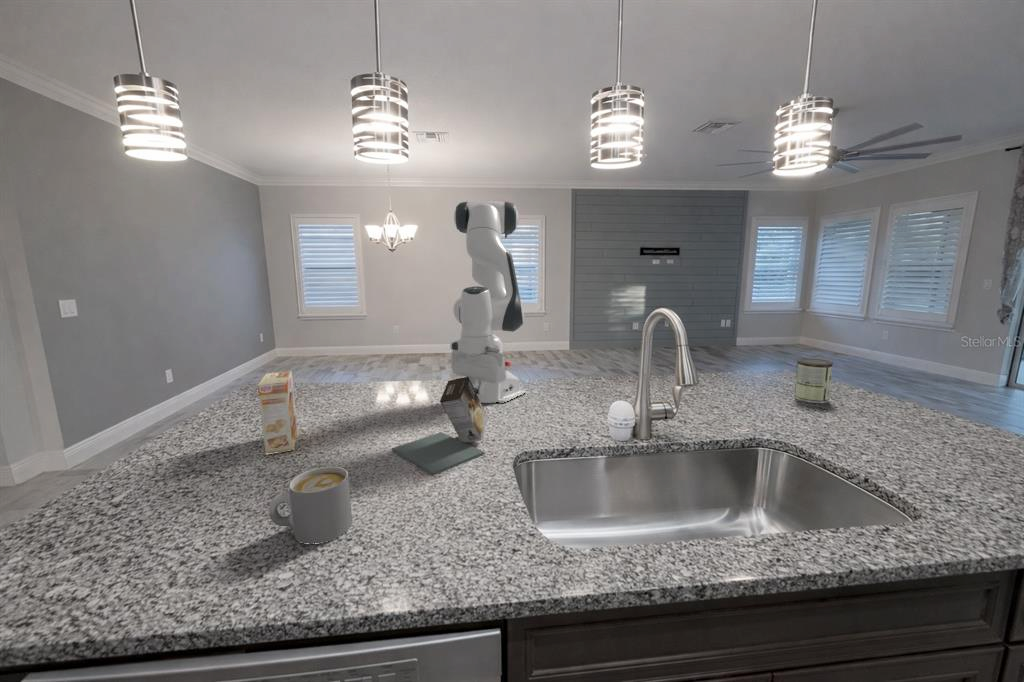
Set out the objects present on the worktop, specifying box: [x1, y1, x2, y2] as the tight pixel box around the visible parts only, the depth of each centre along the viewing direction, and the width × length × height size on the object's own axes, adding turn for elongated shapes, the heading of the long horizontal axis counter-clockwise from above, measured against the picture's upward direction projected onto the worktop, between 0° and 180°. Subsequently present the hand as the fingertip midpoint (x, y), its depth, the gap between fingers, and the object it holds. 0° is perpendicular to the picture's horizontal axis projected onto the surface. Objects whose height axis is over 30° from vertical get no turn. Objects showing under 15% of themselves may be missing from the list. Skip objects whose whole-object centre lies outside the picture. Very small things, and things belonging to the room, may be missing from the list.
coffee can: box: [794, 357, 834, 404], centre depth 149 cm, size 10×10×14 cm
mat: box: [391, 431, 485, 476], centre depth 111 cm, size 16×20×1 cm
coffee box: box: [439, 376, 489, 444], centre depth 115 cm, size 9×6×16 cm
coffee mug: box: [268, 466, 353, 544], centre depth 77 cm, size 13×10×10 cm
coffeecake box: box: [257, 370, 298, 454], centre depth 117 cm, size 15×7×20 cm, turn 23°
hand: (478, 393), depth 118 cm, fingers closed, pressing on coffee box
